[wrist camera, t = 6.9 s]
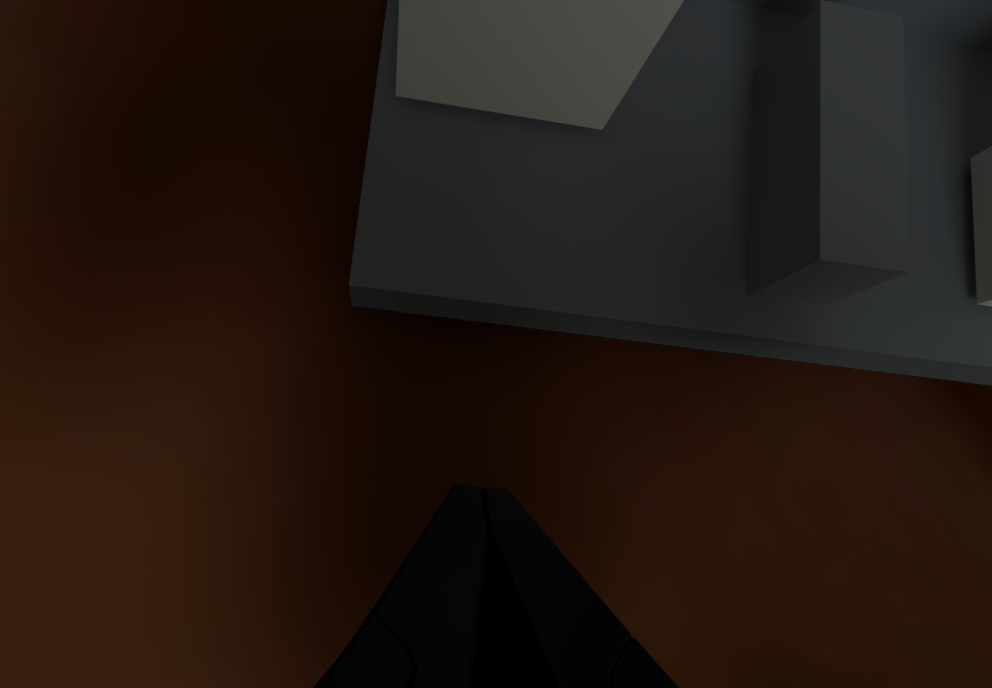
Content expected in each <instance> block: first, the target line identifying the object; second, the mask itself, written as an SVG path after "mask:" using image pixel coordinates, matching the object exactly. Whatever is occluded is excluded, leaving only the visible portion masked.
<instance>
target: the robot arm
mask: <svg viewBox="0 0 992 688" xmlns="http://www.w3.org/2000/svg"><path fill="white" fill-rule="evenodd" d="M631 637H632V636H631V634H630V633H629V631H628V630H627V629H626V628H625V627H624V626H623V624H622V623H621V622H620V621H619V620H618V618H617V617H616V616H615V615H614V614H613V613H612V611H611V610H610V609H609V608H608V607H607V606H606V604H605V603H604V602H603V601H602V600H601V598H600V597H599V596H598V595H597V594H596V593H595V591H594V590H593V589H592V588H591V587H590V585H589V584H588V583H587V582H586V581H585V580H584V578H583V577H582V576H581V575H580V574H579V573H578V571H577V570H576V569H575V568H574V567H573V565H572V564H571V563H570V562H569V561H568V560H567V558H566V557H565V556H564V555H563V554H562V553H561V551H560V550H559V549H558V548H557V547H556V545H555V544H554V543H553V542H552V541H551V540H550V538H549V537H548V536H547V535H546V534H545V533H544V531H543V530H542V529H541V528H540V527H539V525H538V524H537V523H536V522H535V521H534V520H533V518H532V517H531V516H530V515H529V514H528V513H527V511H526V510H525V509H524V508H523V507H522V505H521V504H520V503H519V502H518V501H517V500H516V498H515V497H514V496H513V495H512V494H511V493H510V492H509V491H508V490H505V489H496V488H488V487H486V488H483V489H482V491H481V489H480V488H479V487H477V486H471V485H462V484H456V485H454V486H453V487H452V489H451V490H450V492H449V493H448V495H447V496H446V498H445V499H444V501H443V502H442V504H441V505H440V507H439V509H438V510H437V512H436V513H435V515H434V516H433V518H432V519H431V521H430V522H429V524H428V525H427V527H426V528H425V530H424V531H423V533H422V534H421V536H420V538H419V539H418V541H417V542H416V544H415V545H414V547H413V548H412V550H411V551H410V553H409V554H408V556H407V557H406V559H405V560H404V562H403V563H402V565H401V567H400V568H399V570H398V571H397V573H396V574H395V576H394V577H393V579H392V580H391V582H390V583H389V585H388V586H387V588H386V589H385V591H384V592H383V594H382V596H381V597H380V599H379V600H378V602H377V603H376V605H375V606H374V608H373V609H372V611H371V613H370V614H368V616H367V617H366V619H365V620H364V622H363V623H362V625H361V626H360V628H359V629H358V631H357V632H356V634H355V635H354V637H353V638H352V639H351V641H350V642H349V644H348V645H347V646H346V648H345V649H344V650H343V652H342V653H341V655H340V656H339V657H338V659H337V660H336V661H335V662H334V663H333V665H332V666H331V667H330V668H329V669H328V671H327V672H326V673H325V674H324V675H323V676H322V678H321V679H320V680H319V681H318V682H317V684H316V685H315V686H314V687H313V688H473V687H474V688H679V687H678V686H677V685H676V684H675V683H674V682H673V681H672V679H671V678H670V677H669V676H668V675H667V674H666V673H665V672H664V671H663V669H662V668H661V667H660V666H659V665H658V664H657V663H656V662H655V660H654V659H653V658H652V657H651V656H650V655H649V654H648V652H647V651H646V650H645V649H644V648H643V647H642V645H641V644H640V643H639V642H638V641H637V640H636V639H635V638H631Z"/></svg>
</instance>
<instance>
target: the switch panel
mask: <svg viewBox="0 0 992 688" xmlns="http://www.w3.org/2000/svg"><path fill="white" fill-rule="evenodd" d="M398 18H399V0H388V1H387V8H386V16H385V23H384V30H383V38H382V45H381V52H380V60H379V67H378V74H377V82H376V89H375V96H374V104H373V111H372V118H371V126H370V133H369V140H368V148H367V155H366V162H365V170H364V177H363V184H362V192H361V199H360V206H359V214H358V221H357V228H356V236H355V243H354V250H353V258H352V265H351V272H350V280H349V290H350V296H351V302H352V306H356V307H364V308H372V309H380V310H388V311H397V312H405V313H413V314H421V315H429V316H437V317H445V318H453V319H461V320H469V321H477V322H485V323H493V324H501V325H509V326H517V327H525V328H533V329H541V330H549V331H557V332H565V333H574V334H582V335H590V336H598V337H606V338H614V339H622V340H630V341H638V342H646V343H654V344H662V345H670V346H678V347H686V348H694V349H702V350H710V351H718V352H726V353H734V354H742V355H751V356H759V357H767V358H775V359H783V360H791V361H799V362H807V363H815V364H823V365H831V366H839V367H847V368H855V369H863V370H871V371H879V372H887V373H895V374H903V375H911V376H919V377H928V378H936V379H944V380H952V381H960V382H968V383H976V384H984V385H992V306H985V305H978V304H977V293H976V269H975V246H974V223H973V200H972V177H971V157H973V156H975V155H977V154H979V153H980V152H982V151H984V150H986V149H988V148H990V147H991V146H992V0H684V1H683V3H682V4H681V6H680V7H679V9H678V11H677V12H676V14H675V15H674V17H673V19H672V20H671V22H670V23H669V25H668V26H667V28H666V30H665V31H664V33H663V34H662V36H661V38H660V39H659V41H658V42H657V44H656V45H655V47H654V49H653V50H652V52H651V53H650V55H649V57H648V58H647V60H646V61H645V63H644V65H643V66H642V68H641V69H640V71H639V72H638V74H637V76H636V77H635V79H634V80H633V82H632V84H631V85H630V87H629V88H628V90H627V91H626V93H625V95H624V96H623V98H622V99H621V101H620V103H619V104H618V106H617V107H616V109H615V110H614V112H613V114H612V115H611V117H610V118H609V120H608V122H607V123H606V125H605V126H604V128H603V130H600V129H594V128H588V127H582V126H575V125H569V124H563V123H557V122H551V121H545V120H539V119H533V118H527V117H521V116H514V115H508V114H502V113H496V112H490V111H484V110H478V109H472V108H466V107H460V106H453V105H447V104H441V103H435V102H429V101H423V100H417V99H411V98H405V97H399V96H395V95H396V70H397V44H398Z"/></svg>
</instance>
